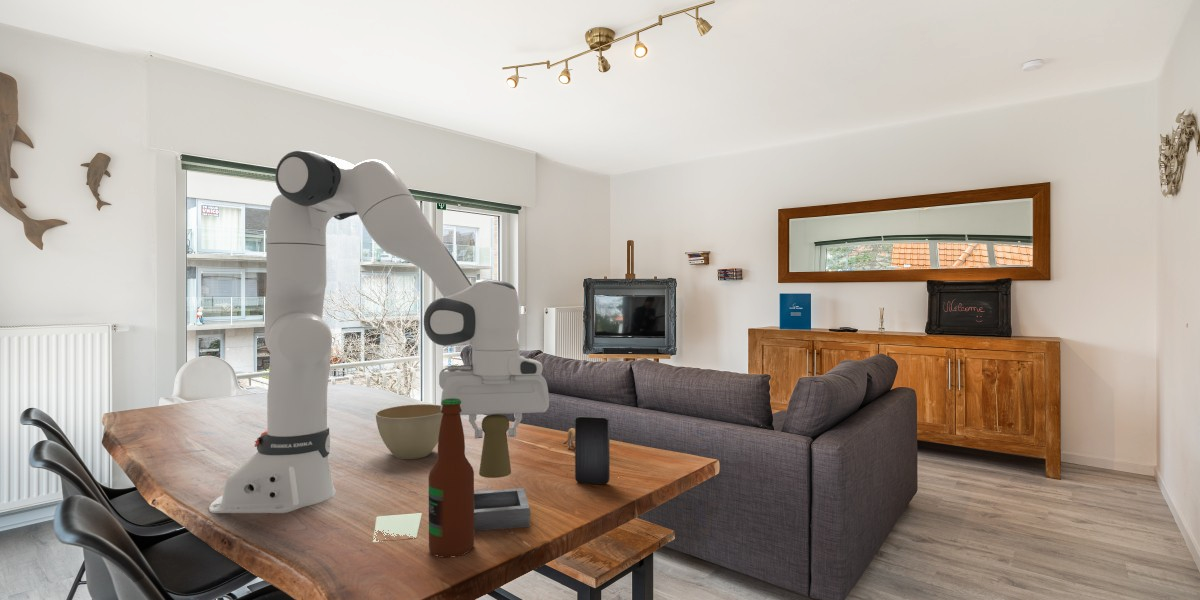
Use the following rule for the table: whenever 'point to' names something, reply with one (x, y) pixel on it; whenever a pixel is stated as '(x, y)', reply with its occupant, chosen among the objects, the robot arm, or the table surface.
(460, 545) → the bottle
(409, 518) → the mat
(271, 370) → the robot arm
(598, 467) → the phone
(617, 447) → the table surface
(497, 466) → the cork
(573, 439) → the lion figurine
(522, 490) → the grey square tray
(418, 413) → the cream bowl
